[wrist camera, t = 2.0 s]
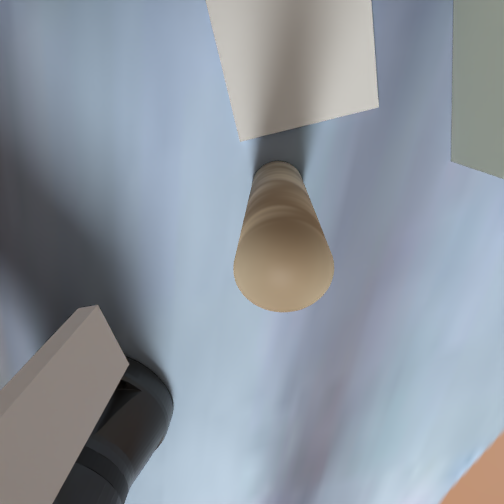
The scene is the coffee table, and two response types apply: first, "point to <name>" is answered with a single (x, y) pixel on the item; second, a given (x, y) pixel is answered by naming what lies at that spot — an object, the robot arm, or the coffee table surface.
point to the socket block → (478, 86)
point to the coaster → (294, 61)
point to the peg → (281, 243)
